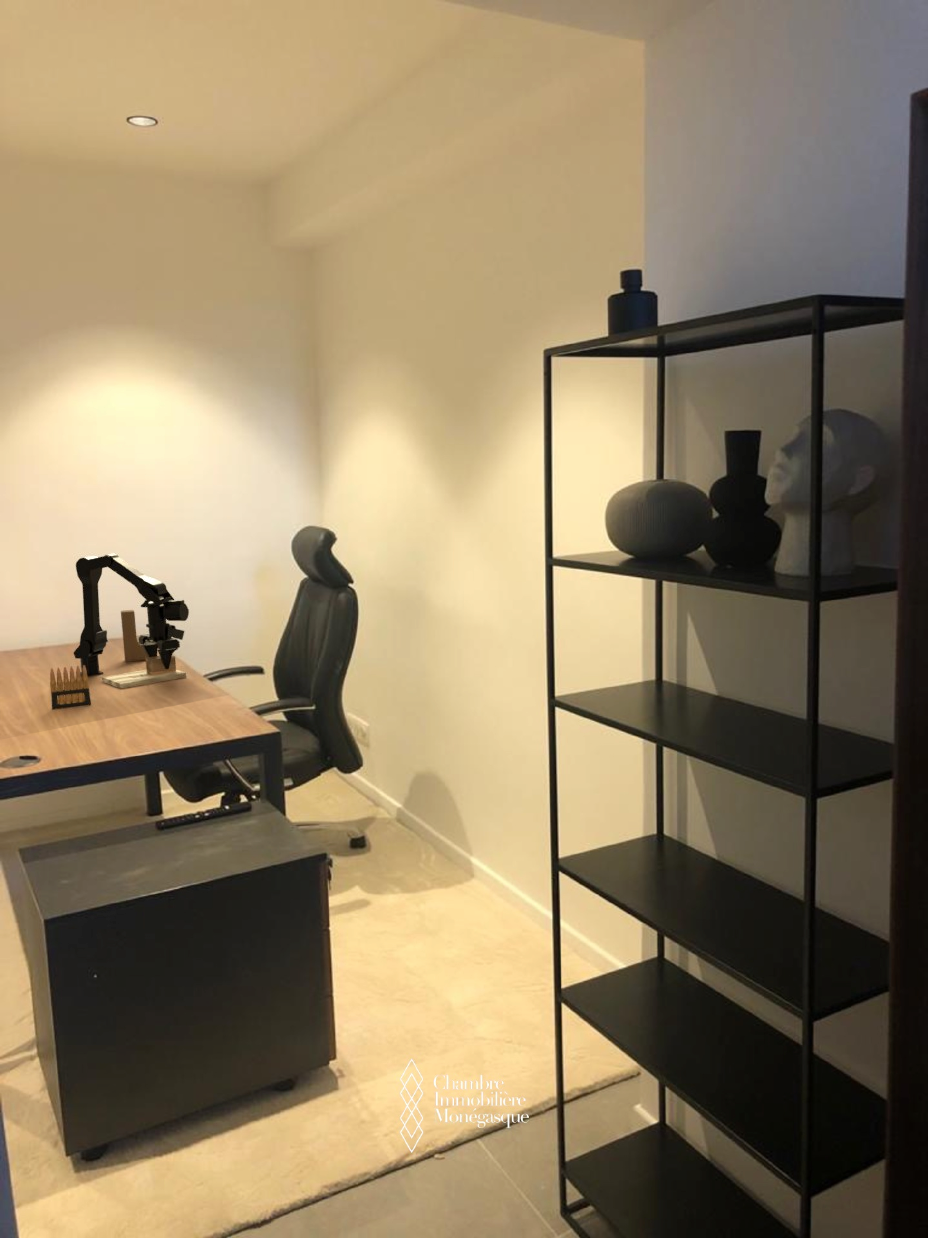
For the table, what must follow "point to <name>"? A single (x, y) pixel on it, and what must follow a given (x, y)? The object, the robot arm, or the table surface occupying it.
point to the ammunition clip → (69, 689)
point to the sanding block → (159, 665)
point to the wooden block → (131, 638)
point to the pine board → (140, 678)
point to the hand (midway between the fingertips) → (160, 667)
